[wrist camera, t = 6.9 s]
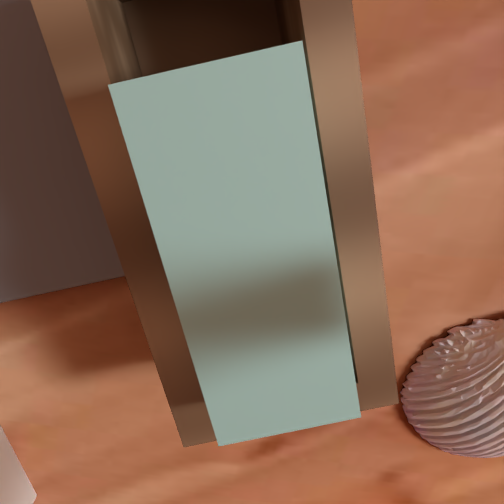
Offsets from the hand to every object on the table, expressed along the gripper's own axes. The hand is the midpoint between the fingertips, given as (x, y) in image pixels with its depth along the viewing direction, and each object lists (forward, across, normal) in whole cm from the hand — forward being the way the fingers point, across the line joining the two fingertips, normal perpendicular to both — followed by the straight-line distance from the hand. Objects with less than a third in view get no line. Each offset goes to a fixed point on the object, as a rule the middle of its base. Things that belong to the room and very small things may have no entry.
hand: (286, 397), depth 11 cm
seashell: (+14, +11, -13) cm, 22 cm away
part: (+9, 0, +1) cm, 9 cm away
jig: (+13, 0, +2) cm, 13 cm away
